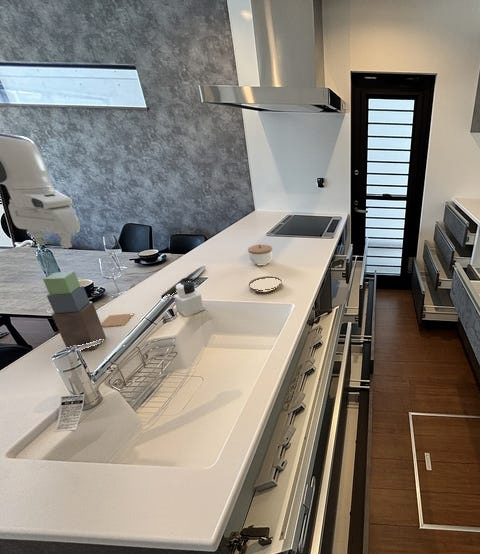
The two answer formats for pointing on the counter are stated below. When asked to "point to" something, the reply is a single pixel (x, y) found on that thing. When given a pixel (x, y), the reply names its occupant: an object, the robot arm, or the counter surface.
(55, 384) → the counter surface
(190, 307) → the medicine bottle
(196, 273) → the kitchen knife
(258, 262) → the lidded bowl
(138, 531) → the counter surface
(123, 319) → the cork mat
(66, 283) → the green box
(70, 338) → the storage box
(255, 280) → the plant saucer
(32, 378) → the counter surface
